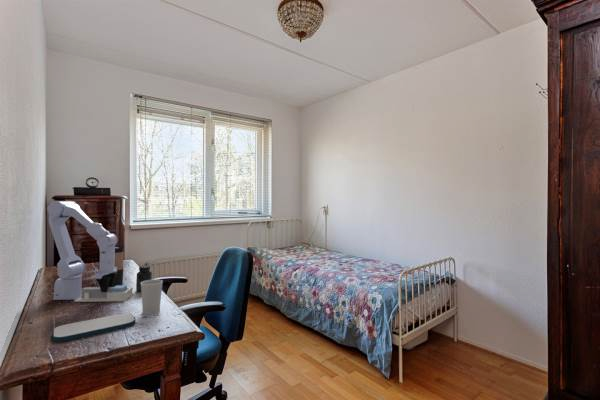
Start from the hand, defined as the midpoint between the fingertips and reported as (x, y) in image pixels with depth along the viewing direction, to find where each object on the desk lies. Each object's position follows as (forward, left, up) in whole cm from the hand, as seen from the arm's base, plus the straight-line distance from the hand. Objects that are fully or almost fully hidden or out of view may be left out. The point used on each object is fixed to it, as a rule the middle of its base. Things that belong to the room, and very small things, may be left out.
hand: (106, 290), depth 138 cm
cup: (+26, -18, -4) cm, 32 cm away
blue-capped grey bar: (0, 0, -3) cm, 3 cm away
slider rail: (0, 0, -3) cm, 3 cm away
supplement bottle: (+12, +11, -4) cm, 17 cm away
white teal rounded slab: (+13, -33, -4) cm, 36 cm away
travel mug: (-6, +20, -4) cm, 21 cm away
